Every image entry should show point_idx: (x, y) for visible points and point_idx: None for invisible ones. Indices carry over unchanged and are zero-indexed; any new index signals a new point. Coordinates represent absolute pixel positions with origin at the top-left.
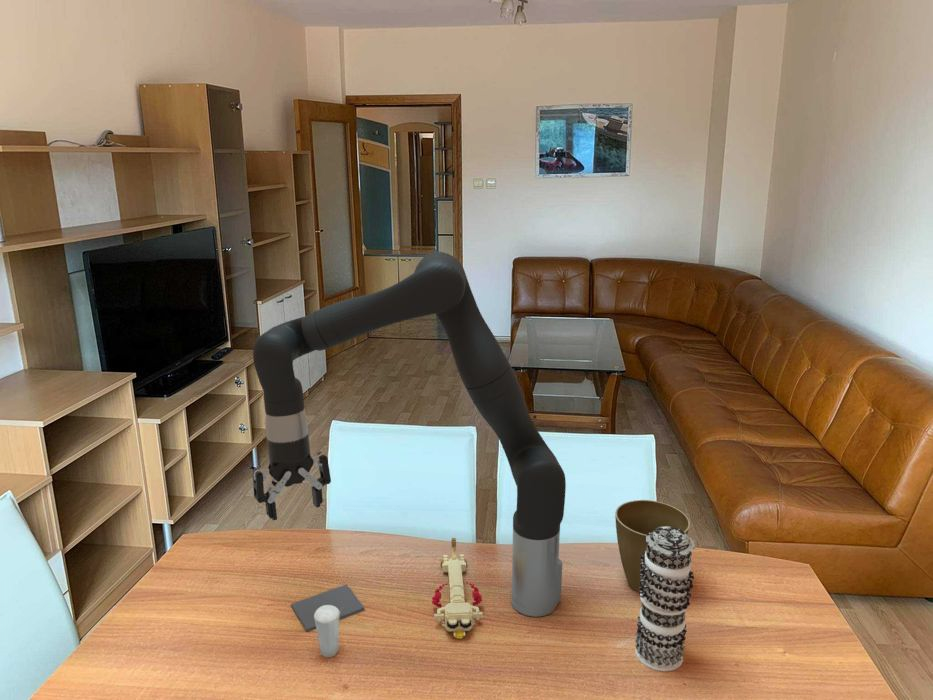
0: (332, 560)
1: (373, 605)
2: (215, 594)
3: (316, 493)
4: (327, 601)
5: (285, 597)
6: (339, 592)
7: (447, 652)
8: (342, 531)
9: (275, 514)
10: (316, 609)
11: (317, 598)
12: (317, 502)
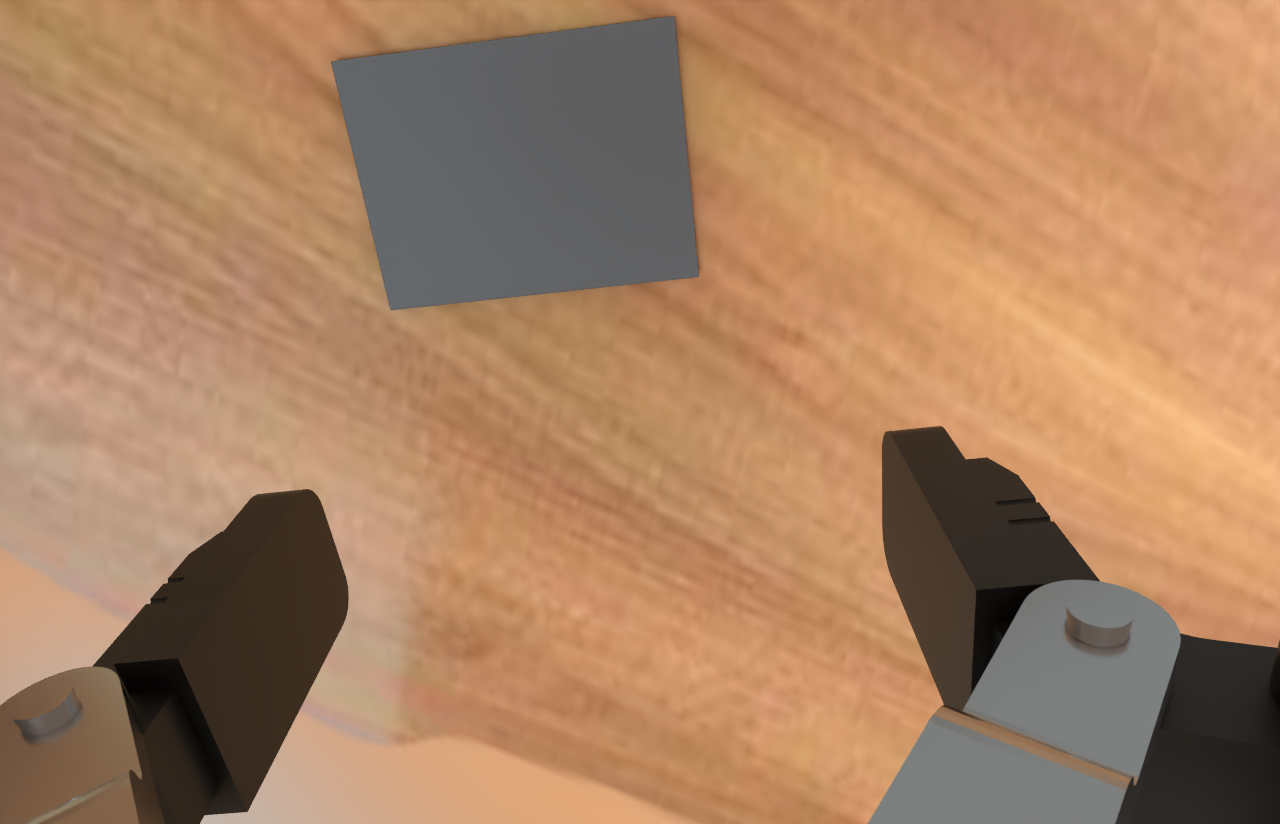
0: (425, 540)
1: (282, 80)
2: None
3: (192, 626)
4: (515, 209)
5: (707, 358)
6: (439, 257)
7: None
8: (338, 726)
9: (925, 465)
10: (585, 167)
11: (559, 260)
12: (264, 528)
